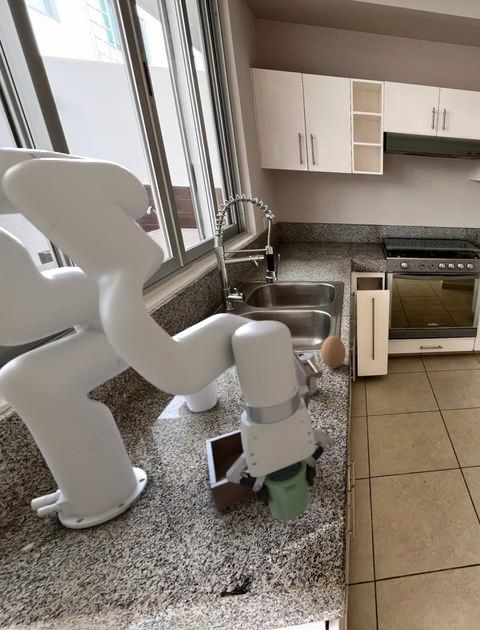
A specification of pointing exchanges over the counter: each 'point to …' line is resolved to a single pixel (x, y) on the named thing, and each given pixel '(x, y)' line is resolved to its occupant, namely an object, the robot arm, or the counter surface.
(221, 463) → the chest
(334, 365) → the egg
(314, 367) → the lid
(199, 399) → the foam cup
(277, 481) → the pot
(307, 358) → the energy drink
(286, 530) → the counter surface
